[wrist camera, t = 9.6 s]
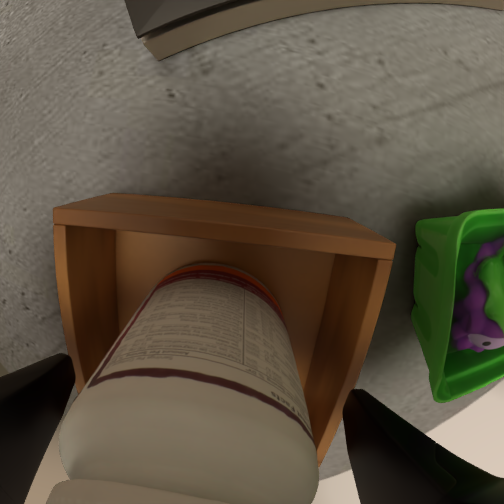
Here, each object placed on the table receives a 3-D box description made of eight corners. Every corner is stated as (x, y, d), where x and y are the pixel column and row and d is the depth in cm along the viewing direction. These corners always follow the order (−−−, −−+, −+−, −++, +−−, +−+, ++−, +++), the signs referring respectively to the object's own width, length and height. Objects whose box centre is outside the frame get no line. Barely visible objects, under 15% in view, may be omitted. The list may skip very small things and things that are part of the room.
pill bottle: (209, 398, 14) (184, 615, 3) (118, 313, 13) (-22, 525, 2) (311, 333, 13) (397, 588, 2) (219, 225, 12) (95, 559, 1)
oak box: (305, 403, 15) (319, 467, 11) (121, 383, 15) (92, 440, 10) (348, 217, 12) (397, 243, 8) (111, 192, 12) (52, 207, 8)
